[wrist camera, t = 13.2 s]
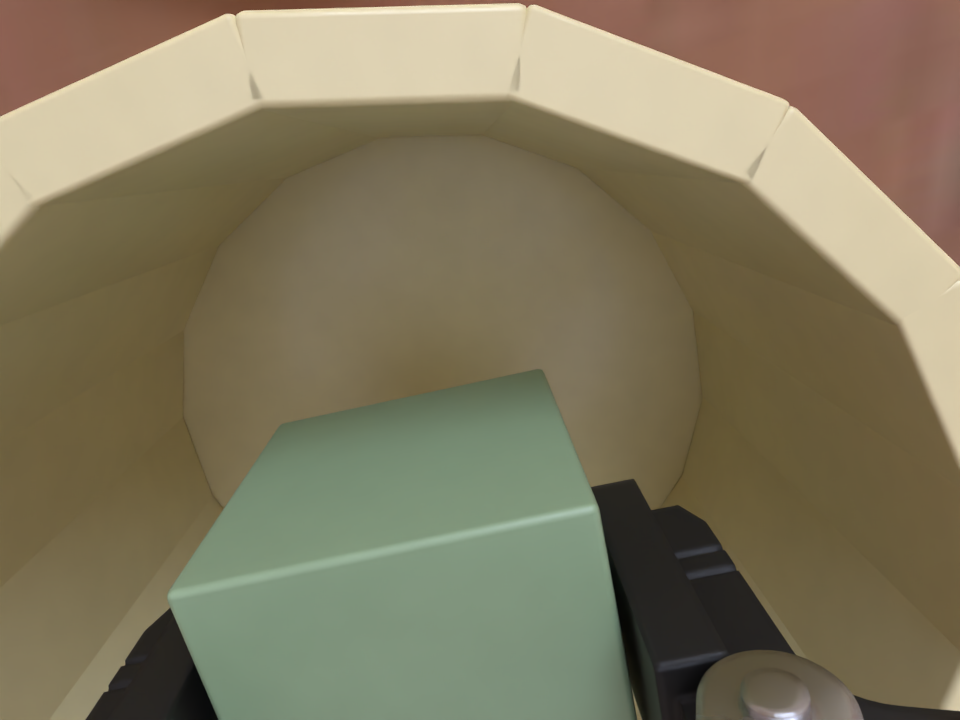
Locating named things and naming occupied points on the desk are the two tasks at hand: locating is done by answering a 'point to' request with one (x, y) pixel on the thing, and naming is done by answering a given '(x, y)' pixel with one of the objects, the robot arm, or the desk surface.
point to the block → (411, 569)
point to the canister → (465, 315)
